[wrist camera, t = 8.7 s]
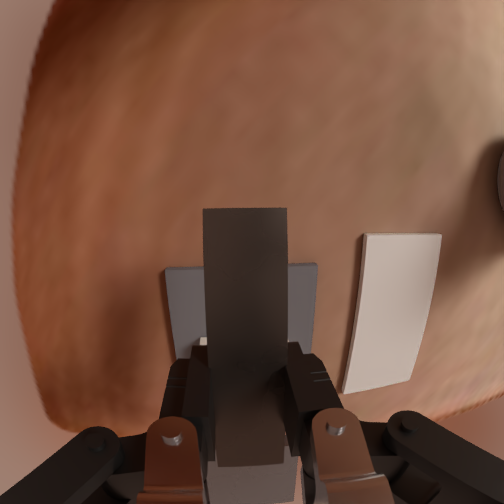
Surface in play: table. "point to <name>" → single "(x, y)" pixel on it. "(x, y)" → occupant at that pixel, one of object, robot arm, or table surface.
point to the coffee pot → (501, 181)
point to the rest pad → (391, 308)
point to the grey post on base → (248, 353)
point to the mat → (193, 305)
